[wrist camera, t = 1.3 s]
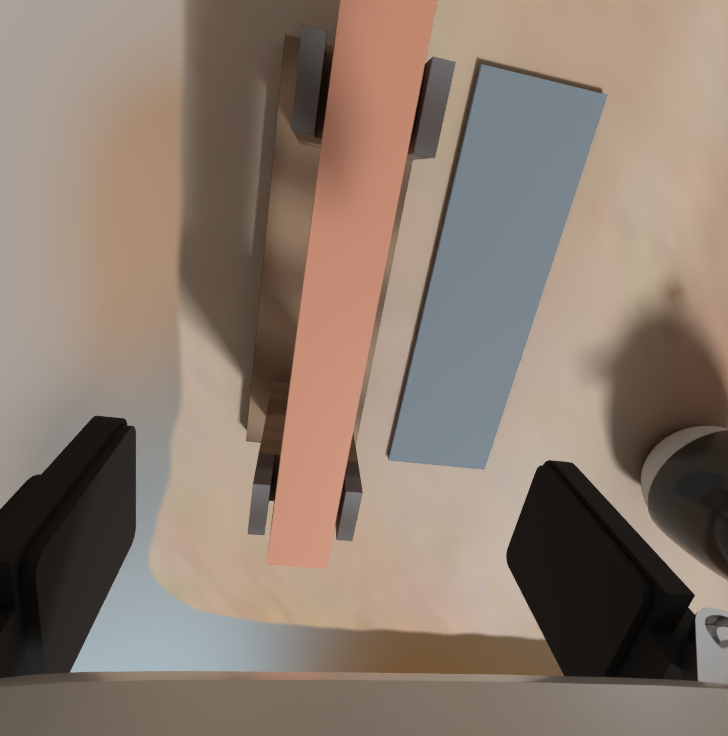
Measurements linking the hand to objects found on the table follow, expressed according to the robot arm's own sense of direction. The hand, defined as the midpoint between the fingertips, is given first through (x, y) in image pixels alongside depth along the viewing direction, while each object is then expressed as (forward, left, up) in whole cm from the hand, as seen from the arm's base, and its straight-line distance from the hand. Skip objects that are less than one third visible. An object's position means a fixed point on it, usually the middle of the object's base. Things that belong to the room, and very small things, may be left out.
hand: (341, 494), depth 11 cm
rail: (0, 0, -12) cm, 12 cm away
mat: (0, +11, -22) cm, 25 cm away
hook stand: (0, 0, -22) cm, 22 cm away
